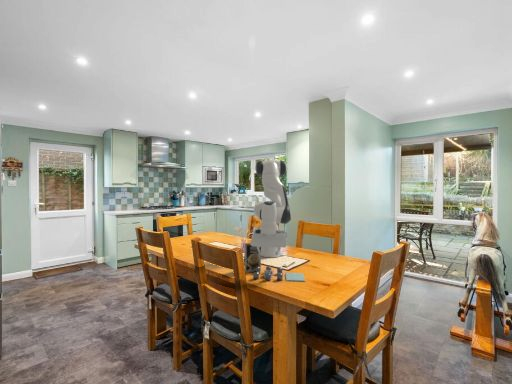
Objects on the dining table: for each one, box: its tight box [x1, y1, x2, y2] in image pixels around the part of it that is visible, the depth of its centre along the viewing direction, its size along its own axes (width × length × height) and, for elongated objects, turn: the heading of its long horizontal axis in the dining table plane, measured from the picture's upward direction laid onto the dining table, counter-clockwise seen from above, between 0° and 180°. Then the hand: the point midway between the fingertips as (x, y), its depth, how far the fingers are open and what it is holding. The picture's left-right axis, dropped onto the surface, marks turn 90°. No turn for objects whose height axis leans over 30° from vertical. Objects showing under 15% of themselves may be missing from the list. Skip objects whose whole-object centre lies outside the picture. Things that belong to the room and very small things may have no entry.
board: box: [285, 272, 306, 283], centre depth 147 cm, size 12×10×1 cm
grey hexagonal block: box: [263, 269, 274, 279], centre depth 149 cm, size 6×5×3 cm
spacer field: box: [252, 265, 284, 282], centre depth 148 cm, size 15×16×4 cm
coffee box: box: [243, 242, 262, 273], centre depth 159 cm, size 9×6×16 cm
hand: (268, 254), depth 148 cm, fingers open, 8 cm apart
